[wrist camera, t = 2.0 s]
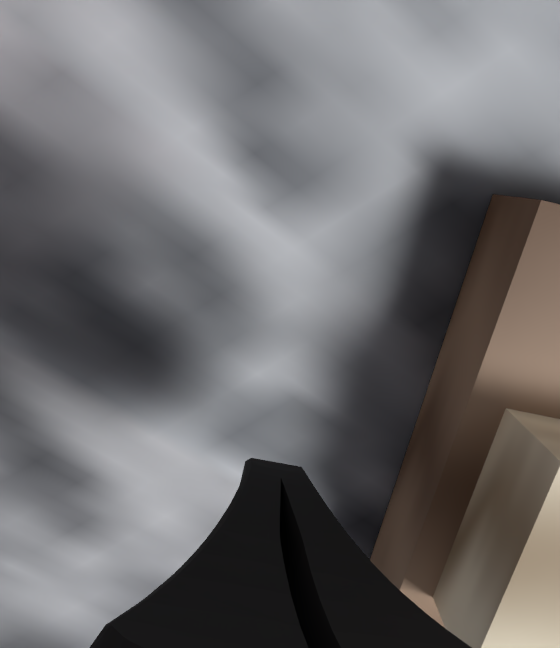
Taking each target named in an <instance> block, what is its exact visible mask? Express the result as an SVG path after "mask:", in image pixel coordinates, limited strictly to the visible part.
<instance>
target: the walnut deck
mask: <svg viewBox="0 0 560 648" xmlns="http://www.w3.org/2000/svg"><path fill="white" fill-rule="evenodd" d="M506 408H507V409H512V410H517V411H522V412H527V413H532V414H537V415H542V416H547V417H552V418H556V419H560V204H556V203H552V202H548V201H544V200H538V199H529V198H521V197H512V196H504V195H496V194H493V195H492V198H491V201H490V204H489V207H488V210H487V213H486V216H485V219H484V222H483V225H482V228H481V231H480V234H479V237H478V240H477V243H476V246H475V249H474V252H473V255H472V258H471V261H470V264H469V267H468V270H467V273H466V276H465V279H464V282H463V285H462V288H461V291H460V294H459V297H458V300H457V302H456V305H455V308H454V311H453V314H452V317H451V320H450V323H449V326H448V329H447V332H446V335H445V338H444V341H443V344H442V347H441V350H440V353H439V356H438V359H437V362H436V365H435V368H434V371H433V374H432V377H431V380H430V383H429V386H428V389H427V392H426V395H425V398H424V401H423V404H422V407H421V409H420V412H419V415H418V418H417V421H416V424H415V427H414V430H413V433H412V436H411V439H410V442H409V445H408V448H407V451H406V454H405V457H404V460H403V463H402V466H401V469H400V472H399V475H398V478H397V481H396V484H395V487H394V490H393V493H392V496H391V499H390V502H389V505H388V508H387V511H386V514H385V516H384V519H383V522H382V525H381V528H380V531H379V534H378V537H377V540H376V543H375V546H374V549H373V552H372V555H371V558H370V561H371V562H372V563H373V564H374V565H375V566H376V567H377V568H378V569H379V570H380V571H381V572H382V573H383V574H384V575H385V576H386V577H387V579H388V580H389V581H390V582H391V583H392V584H394V585H395V586H396V587H397V588H398V589H399V590H400V591H401V592H402V593H403V594H404V595H406V596H407V597H408V598H409V599H410V600H411V601H412V602H414V603H415V604H416V605H417V606H418V607H419V608H421V609H422V610H423V611H424V612H425V613H426V614H428V615H429V616H430V617H431V618H433V619H434V620H435V621H436V622H438V623H439V624H440V625H442V626H443V627H444V628H445V626H444V624H443V621H442V619H441V616H440V614H439V611H438V609H437V607H436V604H435V602H434V599H433V595H434V593H435V590H436V587H437V585H438V582H439V580H440V577H441V575H442V572H443V569H444V567H445V564H446V562H447V559H448V556H449V554H450V551H451V549H452V546H453V544H454V541H455V538H456V536H457V533H458V531H459V528H460V525H461V523H462V520H463V518H464V515H465V512H466V510H467V507H468V505H469V502H470V500H471V497H472V494H473V492H474V489H475V487H476V484H477V481H478V479H479V476H480V474H481V471H482V469H483V466H484V463H485V461H486V458H487V456H488V453H489V450H490V448H491V445H492V443H493V440H494V438H495V435H496V432H497V430H498V427H499V425H500V422H501V419H502V417H503V414H504V412H505V409H506Z"/></svg>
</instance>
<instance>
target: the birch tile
mask: <svg viewBox="0 0 560 648" xmlns="http://www.w3.org/2000/svg"><path fill="white" fill-rule="evenodd" d="M433 599H434V602H435V604H436V607H437V609H438V611H439V614H440V616H441V619H442V621H443V624H444V626H445V629H447V630H448V631H450V632H451V633H452V634H454V635H455V636H456V637H458V638H459V639H461V640H462V641H463V642H465V643H466V644H467V645H469V646H470V647H472V648H560V419H556V418H552V417H547V416H542V415H537V414H532V413H527V412H522V411H517V410H512V409H507V408H506V409H505V412H504V414H503V417H502V419H501V422H500V425H499V427H498V430H497V432H496V435H495V438H494V440H493V443H492V445H491V448H490V450H489V453H488V456H487V458H486V461H485V463H484V466H483V469H482V471H481V474H480V476H479V479H478V481H477V484H476V487H475V489H474V492H473V494H472V497H471V500H470V502H469V505H468V507H467V510H466V512H465V515H464V518H463V520H462V523H461V525H460V528H459V531H458V533H457V536H456V538H455V541H454V544H453V546H452V549H451V551H450V554H449V556H448V559H447V562H446V564H445V567H444V569H443V572H442V575H441V577H440V580H439V582H438V585H437V587H436V590H435V593H434V595H433Z"/></svg>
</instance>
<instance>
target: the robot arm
mask: <svg viewBox="0 0 560 648" xmlns="http://www.w3.org/2000/svg"><path fill="white" fill-rule="evenodd" d="M90 648H472V647H470V646H469V645H467V644H466V643H465V642H463V641H462V640H461V639H459V638H458V637H456V636H455V635H454V634H452V633H451V632H450V631H448V630H447V629H445V628H444V627H443V626H442V625H440V624H439V623H438V622H436V621H435V620H434V619H433V618H431V617H430V616H429V615H428V614H426V613H425V612H424V611H423V610H422V609H421V608H419V607H418V606H417V605H416V604H415V603H414V602H412V601H411V600H410V599H409V598H408V597H407V596H406V595H404V594H403V593H402V592H401V591H400V590H399V589H398V588H397V587H396V586H395V585H394V584H392V583H391V582H390V581H389V580H388V579H387V577H386V576H385V575H384V574H383V573H382V572H381V571H380V570H379V569H378V568H377V567H376V566H375V565H374V564H373V563H372V562H371V561H370V560H369V559H368V558H367V557H366V555H365V554H364V553H363V552H362V551H361V550H360V548H359V547H358V546H357V545H356V544H355V542H354V541H353V540H352V539H351V538H350V536H349V535H348V534H347V533H346V531H345V530H344V529H343V527H342V526H341V525H340V523H339V522H338V521H337V519H336V518H335V517H334V515H333V514H332V512H331V511H330V510H329V508H328V507H327V505H326V504H325V502H324V501H323V499H322V498H321V496H320V495H319V493H318V492H317V490H316V489H315V487H314V486H313V484H312V483H311V481H310V479H309V478H308V476H307V475H306V473H305V472H304V470H303V469H302V467H298V466H293V465H287V464H282V463H276V462H271V461H265V460H260V459H254V458H250V459H249V460H247V461H245V466H244V470H243V474H242V478H241V482H240V486H239V488H238V490H237V492H236V494H235V496H234V498H233V500H232V502H231V504H230V505H229V507H228V509H227V510H226V512H225V513H224V515H223V516H222V518H221V519H220V521H219V522H218V524H217V525H216V527H215V528H214V529H213V531H212V532H211V533H210V535H209V536H208V537H207V539H206V540H205V541H204V542H203V543H202V545H201V546H200V547H199V548H198V549H197V551H196V552H195V553H194V554H193V555H192V556H191V557H190V558H189V559H188V560H187V561H186V562H185V563H184V564H183V565H182V566H181V567H180V568H179V569H178V570H177V571H176V572H175V573H174V574H173V575H172V576H171V577H170V578H169V579H167V580H166V581H165V582H164V583H163V584H162V585H160V586H159V587H158V588H157V589H156V590H154V591H153V592H152V593H151V594H150V595H148V596H147V597H146V598H145V599H143V600H142V601H141V602H139V603H138V604H136V605H135V606H133V607H132V608H130V609H129V610H127V611H126V612H125V613H123V614H122V615H120V616H119V617H117V618H116V619H114V620H113V621H111V622H110V623H108V624H106V625H105V627H104V628H103V629H102V631H101V632H100V634H99V635H98V637H97V638H96V639H95V641H94V642H93V644H92V645H91V647H90Z"/></svg>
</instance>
